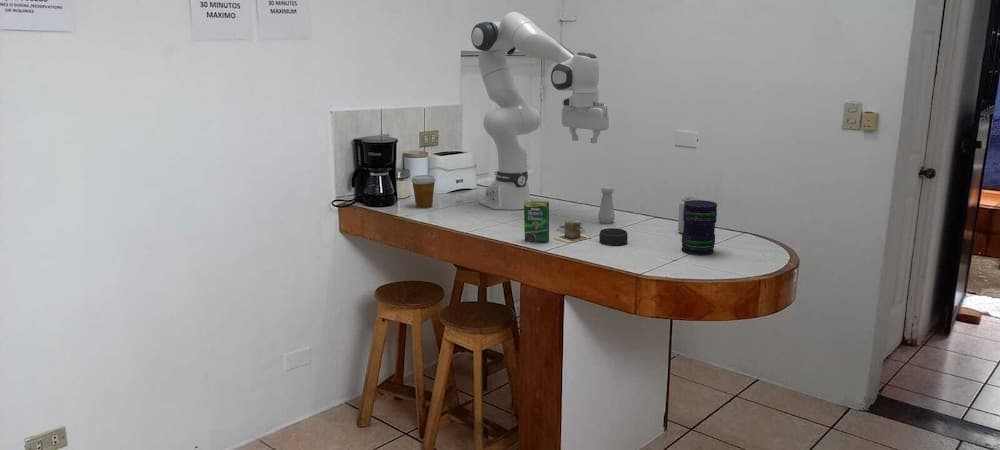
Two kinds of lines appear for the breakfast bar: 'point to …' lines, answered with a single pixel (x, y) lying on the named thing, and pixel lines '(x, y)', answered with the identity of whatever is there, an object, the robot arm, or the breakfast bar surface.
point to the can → (681, 209)
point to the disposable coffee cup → (423, 190)
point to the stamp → (572, 229)
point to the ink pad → (562, 229)
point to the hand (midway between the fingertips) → (584, 141)
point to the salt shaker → (606, 206)
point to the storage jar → (699, 227)
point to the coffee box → (536, 221)
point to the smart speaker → (613, 236)
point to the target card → (572, 240)
